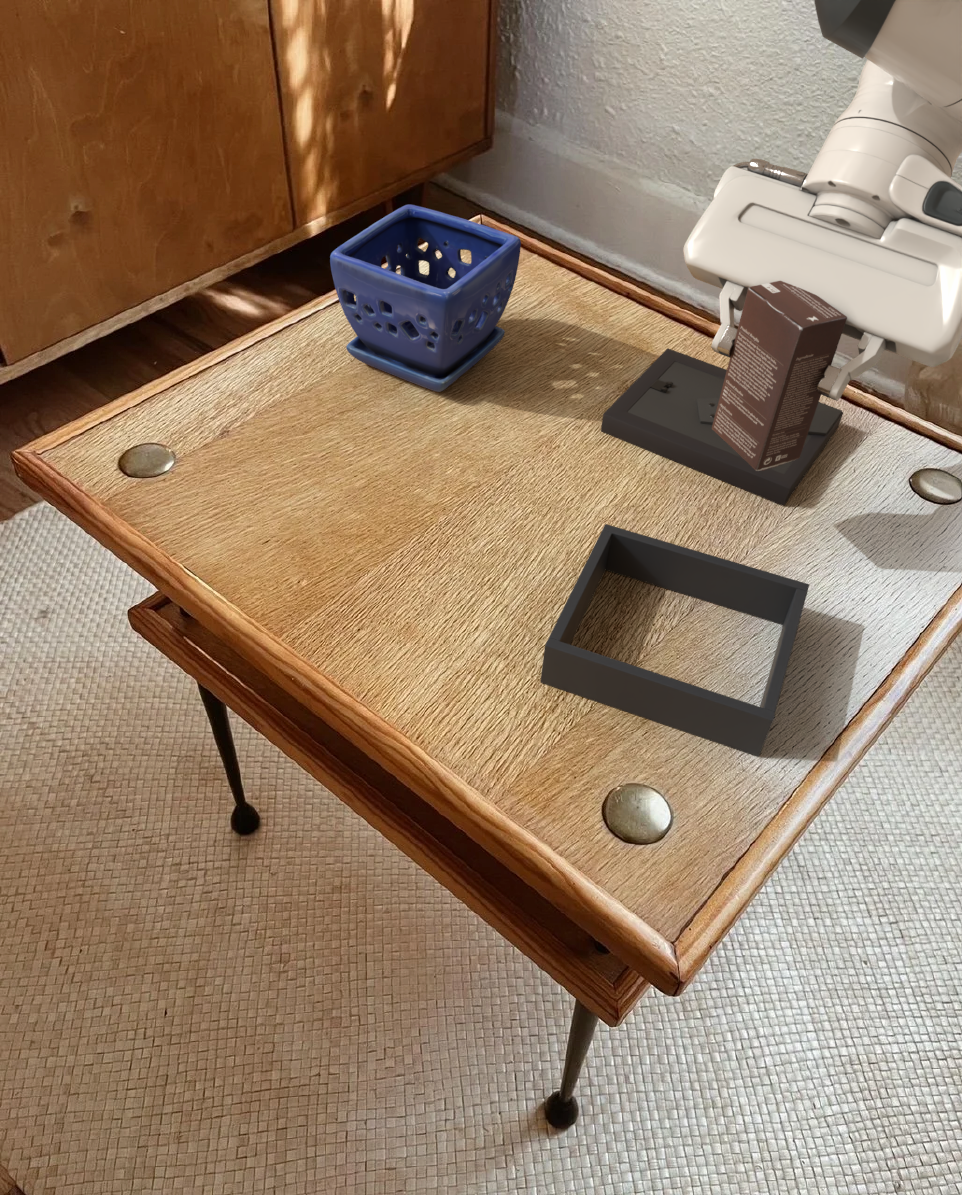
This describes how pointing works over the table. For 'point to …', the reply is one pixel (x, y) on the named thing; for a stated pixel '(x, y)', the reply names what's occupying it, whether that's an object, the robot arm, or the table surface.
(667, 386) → the picture frame
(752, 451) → the box
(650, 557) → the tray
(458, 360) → the flower pot
